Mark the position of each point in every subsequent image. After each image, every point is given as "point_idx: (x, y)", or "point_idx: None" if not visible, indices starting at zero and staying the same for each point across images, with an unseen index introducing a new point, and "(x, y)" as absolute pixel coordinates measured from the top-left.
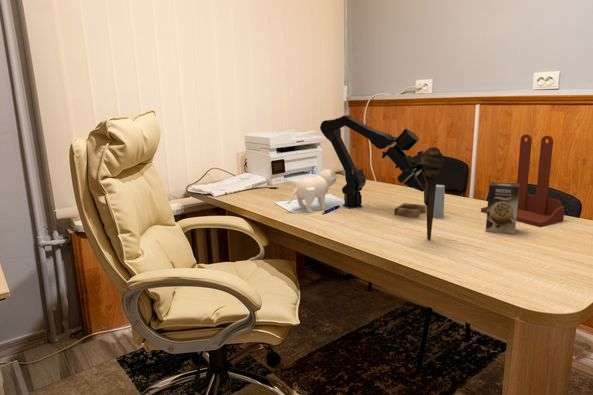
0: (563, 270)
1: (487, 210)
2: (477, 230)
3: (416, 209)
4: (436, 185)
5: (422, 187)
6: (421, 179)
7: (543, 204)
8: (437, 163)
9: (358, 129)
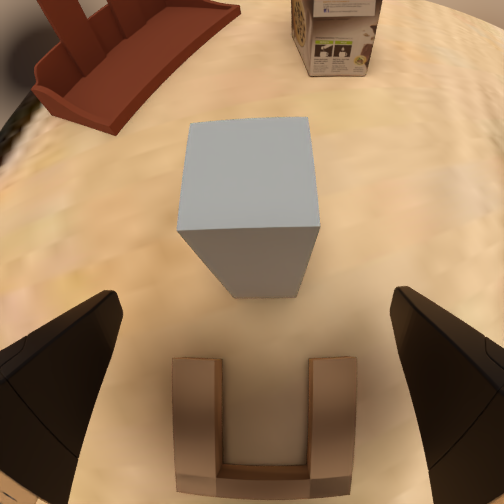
0: (456, 18)
1: (378, 18)
2: (372, 92)
3: (219, 404)
4: (227, 187)
5: (428, 301)
6: (65, 428)
7: (134, 5)
8: None
9: None
